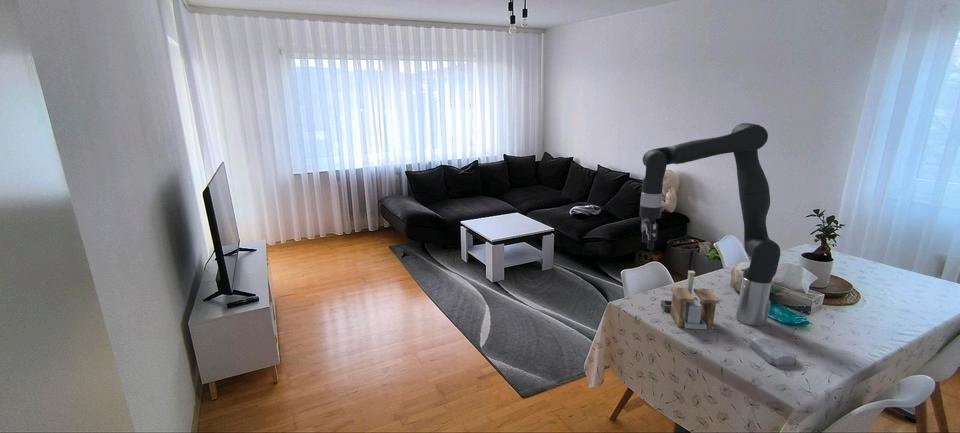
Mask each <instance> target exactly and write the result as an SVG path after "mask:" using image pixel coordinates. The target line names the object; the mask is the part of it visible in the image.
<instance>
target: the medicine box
mask: <svg viewBox="0 0 960 433" xmlns="http://www.w3.org/2000/svg"><path fill="white" fill-rule="evenodd" d="M693 298H694V299H695V302H686V304H685V311H684V320H685V321H686V323H687V324H700V318H701V310H702V306H701V304H700V303H699V302H700V300H698V297H693Z"/></svg>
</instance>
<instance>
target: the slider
mask: <svg viewBox="0 0 960 433" xmlns="http://www.w3.org/2000/svg"><path fill="white" fill-rule="evenodd" d="M695 275H696V272H695V271H694V270H687V281H686V287H685V288H686V289H687V290H688V291H689V293H690V294H691V295H692V294H693V286H694V281H695V280H694V278H695ZM682 327H684V329H692V330H693V329H694V330H708V329H707V325H706V323H705V322H704V321H703V320H702V318H700V324H687V323H686V321H685V320H684V319H683V326H682Z"/></svg>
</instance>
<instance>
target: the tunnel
mask: <svg viewBox="0 0 960 433" xmlns="http://www.w3.org/2000/svg"><path fill="white" fill-rule="evenodd" d="M670 291H671V293H672V297H671V301H672V303H671V311H670V312H669V315H670V317H671V319H672V320H673V322H674V324H675V326H676V327H677V328H679V329H680V328H682V329H683V327H684V326H683V319H684V311H685V304H686V302H695V299H694V298H693V295H692V294H690V293H689V291H688V290H687V289H686V287H676V286H675V287H674V286H671V287H670ZM693 293H694V294H695V295H696V296H697V298H698V299H700V300H699V302H700V304H701V306H702V310H701V318H702V320H703V321H704V322H705V323H706V325H707V329H706V330H713V327H714V320H715V313H716V307H717V304H720V299H719V298H718V297H717V296H716V294H714V293H713V292H712V290H710V289H709V288H696V287H694V288H693Z"/></svg>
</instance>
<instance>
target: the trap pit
mask: <svg viewBox="0 0 960 433" xmlns="http://www.w3.org/2000/svg"><path fill="white" fill-rule="evenodd" d="M671 303H672V300H667V299H666V300H665V299H662V300H660V307H661V309H662V310H663V312H668V313H670V311H671ZM699 303H700V301H699Z"/></svg>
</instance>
